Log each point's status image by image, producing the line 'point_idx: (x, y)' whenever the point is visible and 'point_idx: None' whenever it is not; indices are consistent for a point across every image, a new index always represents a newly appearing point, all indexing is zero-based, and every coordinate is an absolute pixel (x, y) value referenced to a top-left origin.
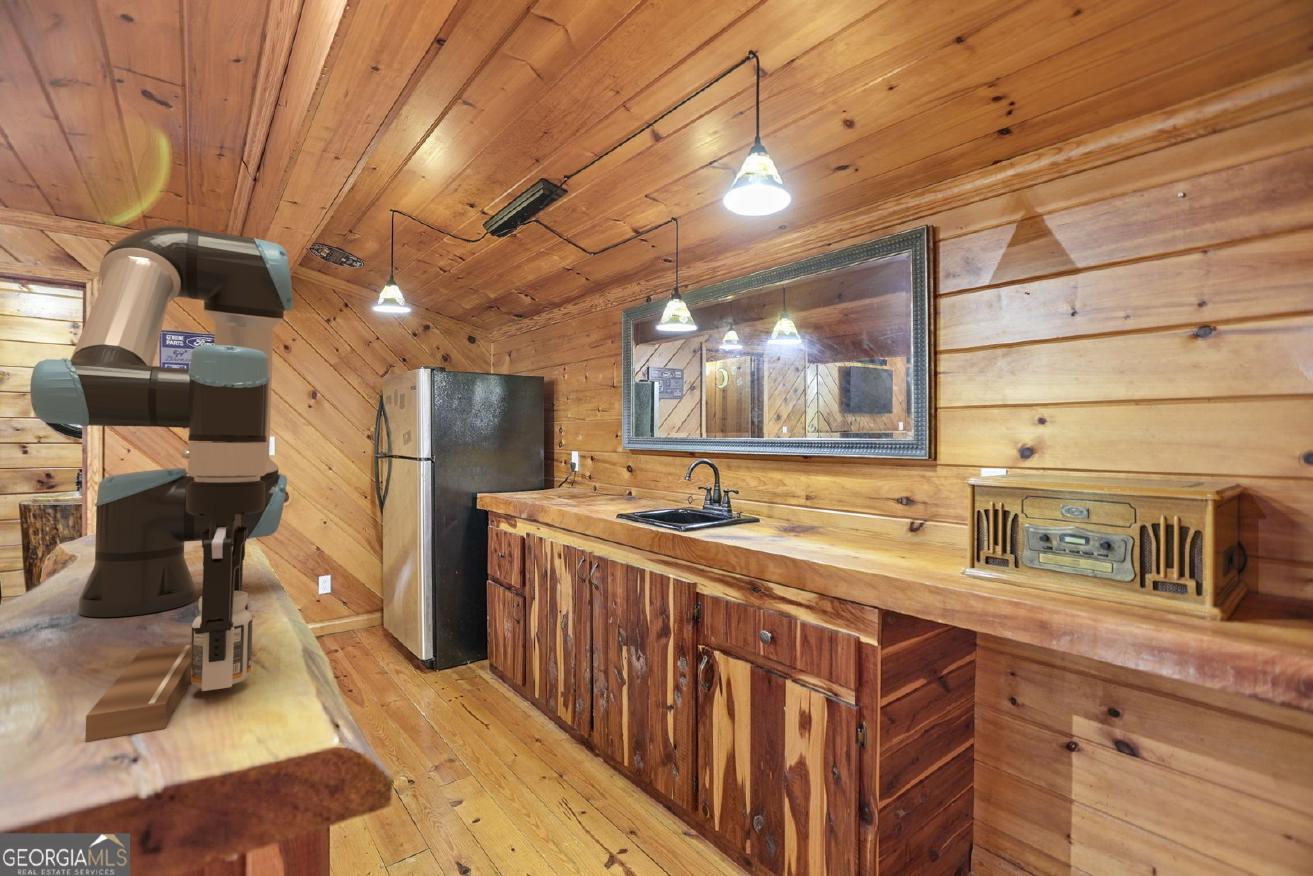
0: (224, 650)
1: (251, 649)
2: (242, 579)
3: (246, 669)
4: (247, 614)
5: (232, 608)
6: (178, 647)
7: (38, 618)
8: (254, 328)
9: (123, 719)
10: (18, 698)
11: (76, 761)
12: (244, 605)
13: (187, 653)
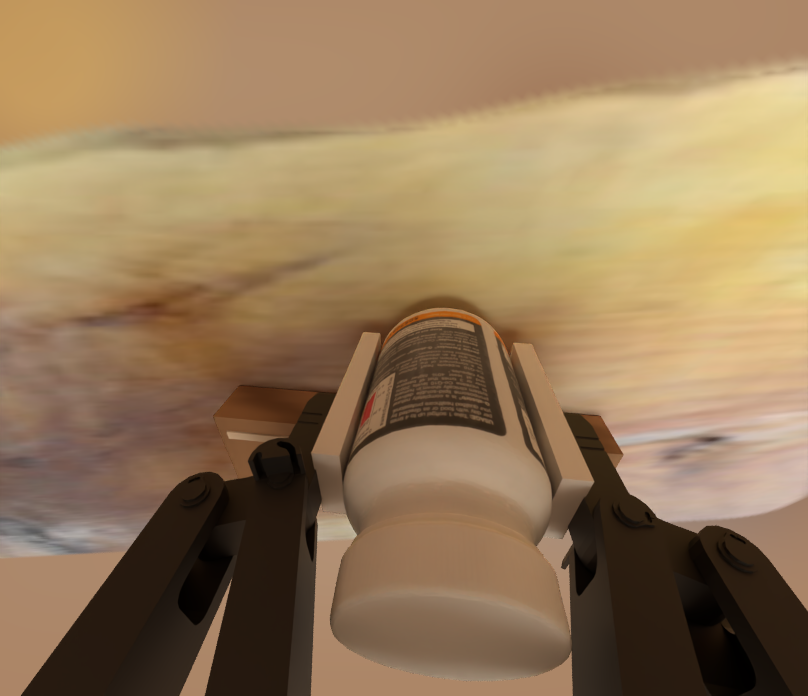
0: (597, 441)
1: (450, 342)
2: (94, 606)
3: (482, 326)
4: (486, 469)
5: (629, 593)
6: (236, 446)
7: (5, 542)
8: None
9: None
10: (337, 535)
11: (637, 487)
12: (500, 532)
13: (286, 434)
